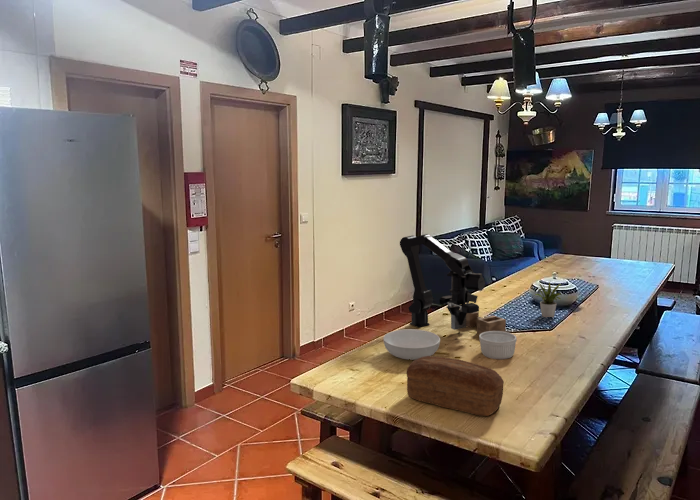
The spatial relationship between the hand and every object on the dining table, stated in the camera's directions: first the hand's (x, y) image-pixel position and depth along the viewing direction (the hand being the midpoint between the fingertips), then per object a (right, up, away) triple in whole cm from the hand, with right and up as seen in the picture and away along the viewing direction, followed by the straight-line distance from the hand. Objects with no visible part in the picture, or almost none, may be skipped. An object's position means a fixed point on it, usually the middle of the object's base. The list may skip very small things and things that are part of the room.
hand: (458, 324), depth 219 cm
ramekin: (+9, -8, -25) cm, 27 cm away
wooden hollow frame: (+10, -3, +4) cm, 11 cm away
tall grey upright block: (0, -2, 0) cm, 2 cm away
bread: (-14, -15, -62) cm, 65 cm away
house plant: (+43, +1, +19) cm, 47 cm away
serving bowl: (-22, -9, -23) cm, 33 cm away
